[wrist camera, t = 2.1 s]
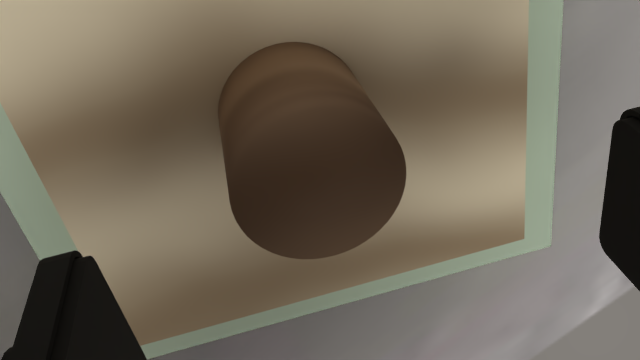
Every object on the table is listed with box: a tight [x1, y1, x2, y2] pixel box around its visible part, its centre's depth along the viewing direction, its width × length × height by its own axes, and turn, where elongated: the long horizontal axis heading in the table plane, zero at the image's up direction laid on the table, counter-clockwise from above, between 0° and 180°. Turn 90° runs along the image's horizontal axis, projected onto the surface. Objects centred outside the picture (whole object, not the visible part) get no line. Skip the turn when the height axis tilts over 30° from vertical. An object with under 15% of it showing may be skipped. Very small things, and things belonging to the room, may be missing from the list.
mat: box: [0, 0, 563, 359], centre depth 18 cm, size 17×17×1 cm
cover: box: [0, 0, 529, 346], centre depth 15 cm, size 14×14×5 cm
